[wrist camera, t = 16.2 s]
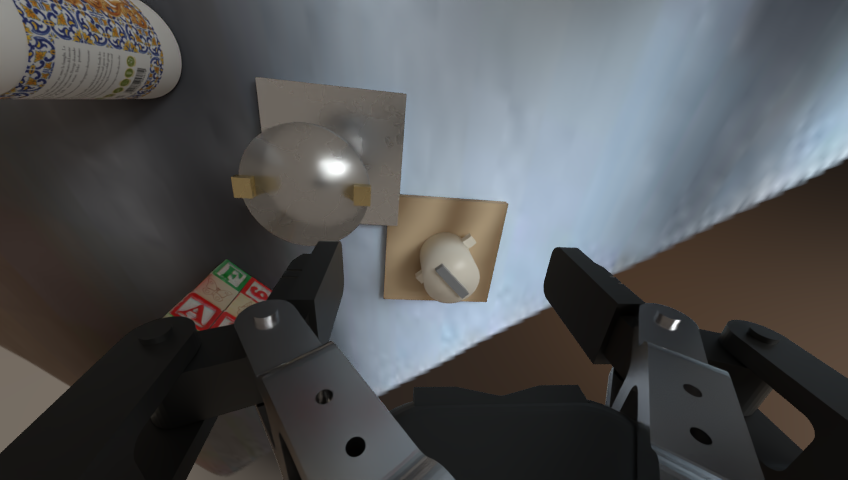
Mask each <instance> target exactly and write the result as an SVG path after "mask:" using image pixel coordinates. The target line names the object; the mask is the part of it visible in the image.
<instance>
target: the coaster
mask: <svg viewBox="0 0 848 480" xmlns="http://www.w3.org/2000/svg"><path fill="white" fill-rule="evenodd" d="M507 208H508V204H507V203H506V202H501V201H487V200H473V199H459V198H445V197H431V196H417V195H403V194H400V196H399V211H398V225H397V226H388V225H387V243H386V261H385V280H384V299H405V300H435V299H433V298H432V297H430V296H429V294H428V293H427V292H426V290H425V287H424V282H423V283H421V282H420V281H418V280H417V279H416V276H415V274H416V273H417V272H418V271H420V270H421V263H420V250H421V247H422V245H423V244H424V242H425V241H426V240H427V239H428V238H430V237H431V236H433V235H435V234H438V233H444V232H447V233H453V234H456V235H458V236H459V237H461V238H463V237H465V236H466V235H467V234H469V233H470V234H471V236H472V237H473V238H474V239H475V241H476V244H475V245H473V246H472V247H471V248H469V251H470V253H471V255H472V257H473V259H474V262H475V264H476V266H477V268H478V270H479V274H480V279H479V284H478V286H477V288H476V290H475V291H474V292H473V293H472V294H471V295H470V296H469V297H468V298H466V299H464V300H462V301H473V302H487V298H488V293H489V289H490V284H491V280H492V275H493V271H494V266H495V262H496V257H497V253H498V248H499V244H500V239H501V235H502V230H503V226H504V221H505V217H506V212H507Z"/></svg>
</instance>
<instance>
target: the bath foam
mask: <svg viewBox="0 0 848 480" xmlns="http://www.w3.org/2000/svg"><path fill="white" fill-rule="evenodd" d="M181 69H182V60H181V54H180V50H179V47H178V44H177V41H176V39H175V37H174V35H173V33H172V32H171V30H170V29H169V27H168V26H167V24H166V23H165V22H164V21H163V20H162V18H161V17H160V16H159V15H158V14H157V13H156V12H155V11H153V10H152V9H151V8H150V7H148V6H147V5H146V4H144V3H143V2H141V1H139V0H0V99H152V98H157V97H161V96H163V95H165V94H167V93H169V92H170V91H171V90H172V89H173V88H174V87H175V86H176V84H177V82H178V80H179V78H180V75H181Z"/></svg>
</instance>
